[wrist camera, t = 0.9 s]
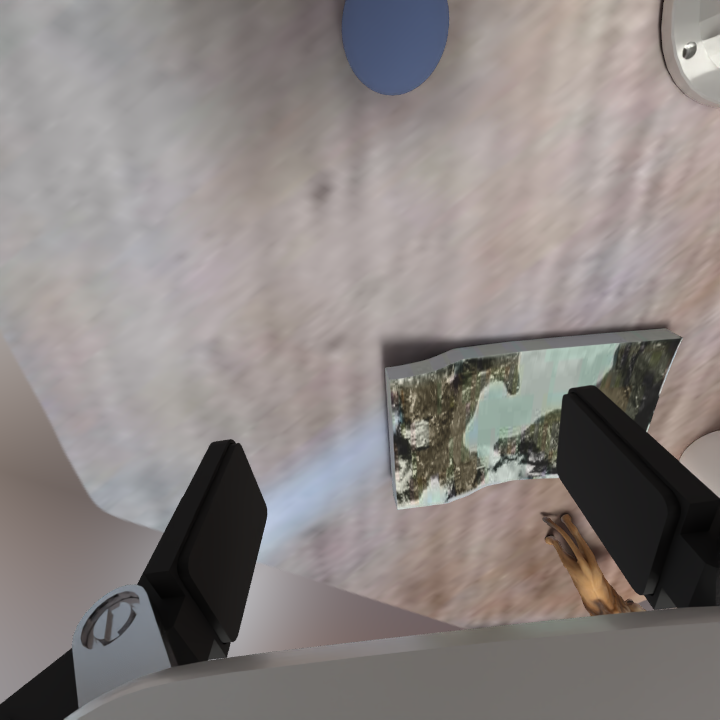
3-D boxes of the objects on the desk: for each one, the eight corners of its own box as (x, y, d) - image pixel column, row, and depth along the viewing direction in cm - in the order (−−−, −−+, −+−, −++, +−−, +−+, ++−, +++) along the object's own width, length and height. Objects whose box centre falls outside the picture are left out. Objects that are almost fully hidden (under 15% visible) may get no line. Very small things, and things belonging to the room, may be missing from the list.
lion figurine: (613, 561, 48) (666, 638, 40) (576, 579, 50) (620, 657, 42) (559, 502, 43) (608, 578, 35) (520, 524, 45) (557, 602, 37)
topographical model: (660, 323, 34) (707, 352, 30) (610, 442, 42) (642, 477, 38) (382, 356, 33) (391, 391, 29) (388, 470, 42) (395, 509, 37)
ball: (399, -46, 22) (417, -116, 16) (454, 56, 24) (484, 23, 19) (322, 36, 23) (315, -5, 18) (380, 124, 26) (388, 111, 20)
